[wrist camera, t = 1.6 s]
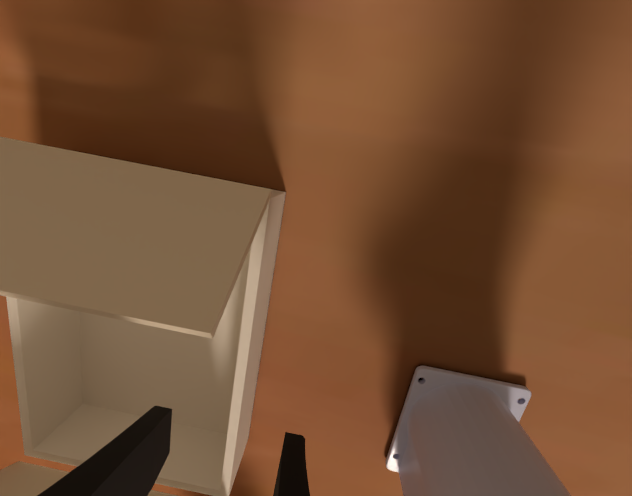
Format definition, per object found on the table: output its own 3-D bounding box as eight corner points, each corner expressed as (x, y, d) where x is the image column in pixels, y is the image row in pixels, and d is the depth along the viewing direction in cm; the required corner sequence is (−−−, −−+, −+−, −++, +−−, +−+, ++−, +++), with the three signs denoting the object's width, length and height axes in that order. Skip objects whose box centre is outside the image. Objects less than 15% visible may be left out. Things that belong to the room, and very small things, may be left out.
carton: (248, 438, 24) (228, 499, 19) (81, 403, 24) (24, 454, 20) (286, 192, 18) (269, 199, 14) (70, 150, 19) (-12, 144, 14)
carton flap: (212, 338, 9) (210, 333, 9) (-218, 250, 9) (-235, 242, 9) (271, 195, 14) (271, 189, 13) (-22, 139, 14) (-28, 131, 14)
